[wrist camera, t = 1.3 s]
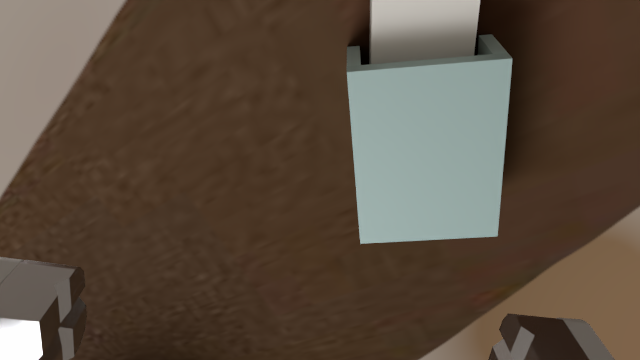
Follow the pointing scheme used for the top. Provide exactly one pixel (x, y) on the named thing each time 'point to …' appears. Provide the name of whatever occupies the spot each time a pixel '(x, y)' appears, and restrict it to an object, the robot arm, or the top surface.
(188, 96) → the top surface
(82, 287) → the robot arm
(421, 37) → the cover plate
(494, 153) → the case
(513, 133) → the top surface
